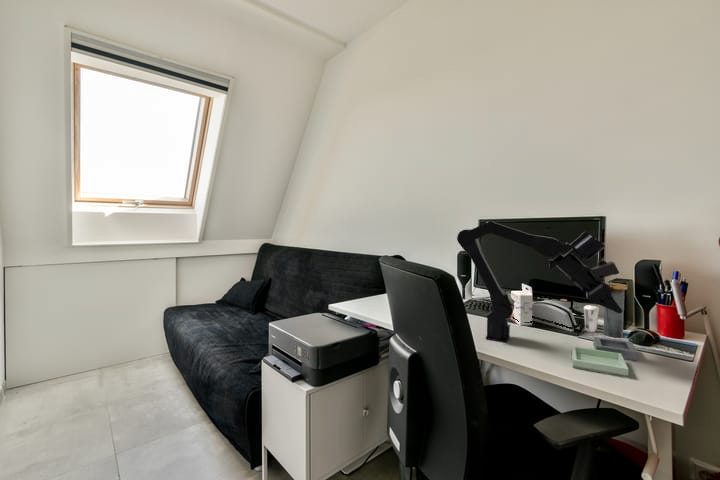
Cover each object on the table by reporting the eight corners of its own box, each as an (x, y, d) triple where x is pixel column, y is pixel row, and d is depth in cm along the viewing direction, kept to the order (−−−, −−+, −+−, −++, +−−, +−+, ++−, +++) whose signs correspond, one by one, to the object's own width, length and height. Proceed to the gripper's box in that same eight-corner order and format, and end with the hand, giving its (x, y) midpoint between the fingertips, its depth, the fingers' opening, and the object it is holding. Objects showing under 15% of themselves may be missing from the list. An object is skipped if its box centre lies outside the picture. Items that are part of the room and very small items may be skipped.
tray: (573, 367, 89) (573, 359, 89) (571, 353, 99) (571, 346, 99) (628, 377, 83) (628, 369, 83) (620, 361, 93) (621, 353, 93)
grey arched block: (580, 329, 121) (575, 305, 119) (572, 335, 119) (567, 311, 117) (539, 318, 136) (533, 296, 134) (531, 323, 134) (526, 301, 132)
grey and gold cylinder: (600, 336, 96) (602, 284, 96) (601, 331, 101) (602, 282, 100) (625, 340, 93) (627, 287, 92) (624, 334, 98) (626, 284, 97)
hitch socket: (595, 354, 98) (596, 346, 98) (593, 344, 106) (593, 336, 106) (637, 361, 93) (637, 352, 93) (631, 349, 101) (631, 341, 101)
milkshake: (604, 332, 117) (604, 304, 117) (588, 332, 117) (589, 304, 117) (595, 328, 122) (595, 301, 121) (580, 328, 122) (580, 301, 121)
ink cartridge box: (509, 319, 135) (510, 283, 134) (522, 319, 135) (522, 283, 134) (519, 325, 126) (520, 287, 125) (532, 325, 126) (533, 287, 125)
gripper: (603, 254, 90) (655, 299, 85) (594, 249, 106) (637, 287, 101) (568, 281, 94) (616, 325, 89) (565, 272, 110) (604, 309, 105)
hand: (619, 310), depth 96 cm, fingers closed on grey and gold cylinder, 4 cm apart
